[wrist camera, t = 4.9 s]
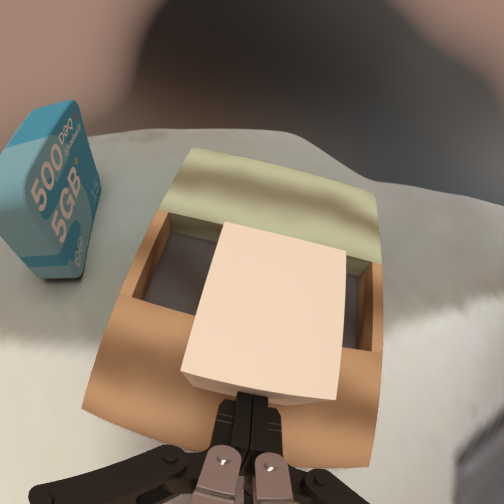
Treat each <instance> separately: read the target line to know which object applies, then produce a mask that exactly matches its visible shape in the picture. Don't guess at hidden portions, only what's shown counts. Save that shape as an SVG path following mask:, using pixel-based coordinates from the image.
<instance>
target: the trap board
mask: <svg viewBox="0 0 504 504" xmlns="http://www.w3.org/2000/svg"><path fill="white" fill-rule="evenodd" d="M224 222H229V223H234V224H238V225H242V226H247V227H251V228H255V229H259V230H263V231H268V232H272V233H276V234H280V235H284V236H288V237H292V238H296V239H300V240H304V241H308V242H312V243H316V244H320V245H324V246H328V247H332V248H336V249H340V250H344V251H346V287H345V310H344V326H343V339H342V351H341V361H340V371H339V379H338V388H337V395H336V400H332V401H325V402H317V403H308V404H298V405H279V404H273V403H268V407H272V408H277V410H278V412H279V413H280V415H281V426H282V444H283V457H284V459H285V460H286V461H287V463H288V464H289V465H290V466H293V467H310V468H355V467H369V463H370V458H371V452H372V447H373V441H374V434H375V428H376V421H377V413H378V404H379V395H380V384H381V371H382V353H383V278H382V260H381V246H380V235H379V225H378V216H377V208H376V200H375V194H374V193H371V192H368V191H365V190H362V189H359V188H356V187H353V186H350V185H346V184H343V183H340V182H337V181H333V180H330V179H326V178H323V177H320V176H316V175H312V174H309V173H305V172H301V171H298V170H294V169H290V168H286V167H282V166H278V165H274V164H270V163H266V162H262V161H257V160H253V159H248V158H244V157H239V156H234V155H230V154H225V153H220V152H214V151H209V150H204V149H198V148H192V149H191V151H190V152H189V154H188V156H187V158H186V159H185V161H184V163H183V164H182V166H181V168H180V170H179V171H178V173H177V175H176V177H175V179H174V180H173V182H172V184H171V186H170V188H169V190H168V191H167V193H166V195H165V197H164V199H163V201H162V203H161V205H160V207H159V209H158V211H157V212H156V214H155V216H154V218H153V220H152V222H151V224H150V226H149V229H148V231H147V233H146V235H145V237H144V239H143V241H142V243H141V245H140V247H139V250H138V252H137V254H136V256H135V258H134V261H133V263H132V265H131V267H130V270H129V272H128V274H127V277H126V279H125V281H124V284H123V286H122V289H121V291H120V294H119V296H118V298H117V301H116V304H115V306H114V309H113V311H112V314H111V317H110V319H109V322H108V325H107V327H106V330H105V333H104V336H103V339H102V341H101V344H100V347H99V350H98V353H97V356H96V359H95V363H94V366H93V369H92V372H91V376H90V379H89V382H88V386H87V389H86V393H85V396H84V400H83V404H82V408H81V409H83V410H85V411H88V412H90V413H92V414H94V415H96V416H98V417H100V418H102V419H105V420H107V421H109V422H112V423H114V424H116V425H119V426H121V427H124V428H126V429H129V430H131V431H134V432H137V433H139V434H142V435H145V436H148V437H151V438H154V439H157V440H160V441H163V442H166V443H169V444H173V445H176V446H180V447H183V448H187V449H191V450H195V451H199V452H202V451H204V450H206V449H207V448H208V447H209V446H210V442H211V437H212V432H213V428H214V423H215V419H216V415H217V411H218V407H219V404H220V403H221V402H222V401H223V400H224V399H229V400H233V401H235V396H230V395H226V394H221V393H217V392H213V391H209V390H205V389H201V388H197V387H194V386H193V385H192V384H191V383H190V382H189V380H188V379H187V378H186V377H185V376H184V375H183V374H182V372H181V371H180V370H181V366H182V362H183V358H184V355H185V351H186V348H187V344H188V340H189V337H190V333H191V330H192V326H193V323H194V319H195V316H196V313H197V309H198V306H199V302H200V299H201V296H202V292H203V289H204V286H205V282H206V279H207V276H208V272H209V269H210V266H211V263H212V260H213V256H214V253H215V250H216V247H217V244H218V241H219V237H220V234H221V231H222V228H223V225H224Z"/></svg>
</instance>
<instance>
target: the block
mask: <svg viewBox="0 0 504 504" xmlns="http://www.w3.org/2000/svg"><path fill="white" fill-rule="evenodd" d="M345 287H346V251H344V250H340V249H336V248H332V247H328V246H324V245H320V244H316V243H312V242H308V241H304V240H300V239H296V238H292V237H288V236H284V235H280V234H276V233H272V232H268V231H263V230H259V229H255V228H251V227H247V226H242V225H238V224H234V223H229V222H224V225H223V228H222V231H221V234H220V237H219V241H218V244H217V247H216V250H215V253H214V256H213V260H212V263H211V266H210V269H209V272H208V276H207V279H206V282H205V286H204V289H203V292H202V296H201V299H200V302H199V306H198V309H197V313H196V316H195V319H194V323H193V326H192V330H191V333H190V337H189V340H188V344H187V348H186V351H185V355H184V358H183V362H182V366H181V370H180V371H181V372H182V374H183V375H184V376H185V377H186V378H187V379H188V380H189V382H190V383H191V384H192V385H193V386H194V387H197V388H201V389H205V390H209V391H213V392H217V393H221V394H226V395H230V396H235V397H236V394H237V391H239V392H244V393H249V394H252V395H253V394H255V395H260V396H266V397H268V403H273V404H279V405H298V404H308V403H317V402H325V401H332V400H336V395H337V388H338V379H339V371H340V361H341V351H342V339H343V326H344V310H345Z"/></svg>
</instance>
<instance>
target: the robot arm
mask: <svg viewBox="0 0 504 504" xmlns="http://www.w3.org/2000/svg"><path fill="white" fill-rule="evenodd" d="M238 475H239V476H244V484H243V485H242V488H241V504H370V503H368V502H367V501H366V500H364V499H363V498H362V497H360V496H359V495H358V494H357V493H355V492H354V491H353V490H351V489H350V488H349V487H348V486H346V485H345V484H344V483H343V482H342V481H340V480H339V479H338V478H337V477H335V476H334V475H333V474H332V473H331V472H329V471H327V470H325V469H313V470H311V471H309V472H305V471H302V470H299V469H296V468H294V467H292V466H290V465H289V464H288V463H287V461H286V460H285V459H284V457H283V444H282V426H281V415H280V413H279V412H278V410H277V408H272V407H268V397H266V396H260V395H255V394H253V395H252V394H249V393H244V392H239V391H237V394H236V397H235V401H233V400H229V399H224V400H223V401H222V402H221V403H220V404H219V407H218V411H217V415H216V419H215V423H214V428H213V432H212V437H211V442H210V446H209V447H208V448H207V449H206V450H204V451H202V452H199V453H185V452H184V451H183V450H182V449H180V448H179V447H177V446H173V445H161V446H159V447H156V448H154V449H152V450H149V451H147V452H144V453H142V454H139V455H137V456H134V457H132V458H129V459H126V460H124V461H121V462H118V463H115V464H113V465H110V466H107V467H104V468H101V469H98V470H94V471H91V472H88V473H85V474H81V475H78V476H74V477H70V478H66V479H62V480H58V481H54V482H50V483H45V484H40V485H36V486H34V487H33V488H31V490H30V491H29V494H28V498H29V502H30V504H163V503H165V502H167V501H169V500H171V499H173V498H175V497H176V496H178V495H180V494H192V493H193V496H192V498H191V501H190V504H234V502H235V498H234V494H235V489H236V484H237V480H238Z"/></svg>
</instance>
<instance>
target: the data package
mask: <svg viewBox="0 0 504 504" xmlns="http://www.w3.org/2000/svg"><path fill="white" fill-rule="evenodd" d="M99 195H100V179H99V176H98V172H97V169H96V166H95V163H94V160H93V157H92V153H91V150H90V147H89V143H88V140H87V136H86V133H85V129H84V125H83V121H82V117H81V113H80V109H79V106H78V104H77V102H76V101H74V100H68V101H63V102H60V103H56V104H52V105H48V106H45V107H41V108H38V109H34V110H32V111H31V112H30V114H29V115H28V116H27V117H26V119H25V120H24V121H23V123H22V124H21V125H20V127H19V128H18V129H17V131H16V132H15V134H14V135H13V137H12V138H11V140H10V141H9V142H8V144H7V146H6V147H5V149H4V150H3V152H2V153H1V155H0V236H1V237H2V238H3V239H4V240H5V242H6V243H7V244H8V245H9V246H10V248H11V249H12V250H13V251H14V252H15V253H16V255H17V256H18V257H19V258H20V259H21V260H22V261H23V262H24V263H25V265H26V266H27V267H28V268H29V269H30V270H31V271H32V272H33V273H34V274H35V275H36V276H37V277H38V278H40V279H51V278H78V277H80V276H81V274H82V273H83V270H84V265H85V259H86V253H87V248H88V242H89V237H90V233H91V228H92V223H93V219H94V215H95V211H96V207H97V203H98V199H99Z"/></svg>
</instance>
